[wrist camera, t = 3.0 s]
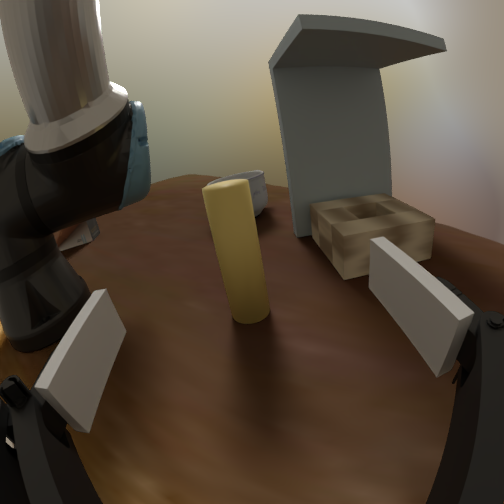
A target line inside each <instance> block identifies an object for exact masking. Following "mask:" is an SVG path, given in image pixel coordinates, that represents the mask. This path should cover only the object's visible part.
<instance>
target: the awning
mask: <svg viewBox="0 0 504 504" xmlns="http://www.w3.org/2000/svg"><path fill="white" fill-rule="evenodd" d="M445 51H447V50H446V46H445V42H444V39H443V38H440V37H437V36H434V35H431V34H427V33H423V32H420V31H416V30H413V29H409V28H405V27H401V26H397V25H392V24H387V23H382V22H377V21H371V20H364V19H356V18H348V17H340V16H327V15H303V14H302V15H300V14H299V15H298V16H297V17H296V19H295V20H294V22H293V24H292V25H291V26H290V28H289V30H288V31H287V33H286V34H285V36H284V37H283V39H282V41H281V42H280V44H279V46H278V47H277V49H276V50H275V52H274V54H273V55H272V57H271V59H270V60H269V62H268V63H269V69H270V74H271V79H272V85H273V90H274V95H275V101H276V107H277V113H278V119H279V125H280V131H281V138H282V144H283V150H284V157H285V164H286V171H287V179H288V187H289V194H290V202H291V210H292V219H293V227H294V233H295V235H296V237H297V238H298V237H303V236H309V235H312V227H311V216H310V206H309V204H312V203H319V202H325V201H332V200H339V199H346V198H353V197H360V196H367V195H375V194H382V193H385V194H387V195H389V196H391V197H392V180H391V158H390V145H389V133H388V123H387V114H386V106H385V100H384V93H383V87H382V81H381V75H380V70H379V69H380V68H383V67H387V66H390V65H393V64H397V63H400V62H403V61H407V60H411V59H415V58H419V57H423V56H427V55H431V54H435V53H440V52H445Z"/></svg>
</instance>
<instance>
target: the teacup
mask: <svg viewBox="0 0 504 504" xmlns="http://www.w3.org/2000/svg"><path fill="white" fill-rule="evenodd" d="M234 179H247V180H248V181H249V187H250V193H251V198H252V204H253V210H254V216H257V215H259V214H260V213H261V212H262V210H263V208H264V207H265V206H266V204H267V201H268V196H267V189H266V184H265V178H264V172H263V171H260V170H255V171H250V172H244V173H238V174H234V175H230V176H227V177H223V178H220V179H217V180H214V181H212V182H210V183H208V184H207V186H208V185H211V184H214V183H218V182H222V181H227V180H234Z"/></svg>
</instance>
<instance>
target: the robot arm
mask: <svg viewBox="0 0 504 504" xmlns="http://www.w3.org/2000/svg"><path fill="white" fill-rule="evenodd" d="M0 19H1V25H2V30H3V35H4V40H5V44H6V49H7V53H8V57H9V60H10V64H11V67H12V71H13V74H14V77H15V81H16V84H17V87H18V90H19V92H20V95H21V98H22V101H23V104H24V106H25V109H26V111H27V114H28V117H29V119H30V123H29V125H28V128H27V131H26V134H25V136H24V135H18V136H14V137H10V138H8V139H5V140H3V141H2V142H1V143H0V320H1V323H2V326H3V331H4V333H5V335H6V337H7V339H8V340H9V342H10V343H11V345H12V346H13V347H14V348H15V349H16V350H18V351H22V352H29V351H34V350H38V349H41V348H43V347H46V346H48V345H50V344H51V343H53V342H55V341H57V340H58V339H60V338H61V337H63V336H64V337H63V338H62V340H61V341H60V343H59V345H58V346H57V348H56V349H55V350H54V351H53V352H52V353H51V355H50V356H49V358H48V360H47V362H46V363H45V365H44V366H43V369H42V370H41V372H40V374H39V375H38V377H37V379H36V381H35V383H34V384H33V386H32V388H31V390H29V389H28V388H27V387H26V386H25V384H24V383H23V382H22V381H21V379H20V378H19V377H18V376H16V375H12V376H9V377H7V378H6V379H5V380H4V381H3V382H2V383H1V385H0V396H1V397H2V398H3V399H4V400H5V401H6V403H7V404H5V403H4V402H3V401H2V399H1V398H0V504H103V503H102V501H101V500H100V498H99V496H98V494H97V492H96V491H95V489H94V487H93V485H92V483H91V481H90V479H89V477H88V475H87V473H86V471H85V469H84V466H83V464H82V462H81V460H80V458H79V455H78V453H77V450H76V448H75V445H74V443H73V440H72V438H71V435H70V433H69V431H68V430H67V429H66V428H65V427H66V425H67V423H68V424H69V425H70V426H71V427H72V428H73V429H74V430H75V431H80V432H85V433H89V432H90V429H91V426H92V423H93V420H94V417H95V414H96V410H97V408H98V405H99V402H100V399H101V396H102V393H103V390H104V387H105V385H106V382H107V379H108V377H109V374H110V371H111V369H112V366H113V364H114V361H115V358H116V356H117V353H118V351H119V348H120V346H121V344H122V341H123V339H124V336H125V334H126V332H127V331H126V329H125V327H124V325H123V323H122V321H121V319H120V317H119V315H118V313H117V311H116V309H115V307H114V305H113V303H112V301H111V298H110V296H109V294H108V292H107V290H106V289H102V290H96V291H94V292H93V294H92V295H91V293H90V291H89V289H88V287H87V284H86V282H85V281H84V279H83V278H82V277H81V276H79V275H78V274H77V273H76V272H75V270H74V269H73V267H72V266H71V265H70V264H69V262H68V261H67V260H66V258H65V257H64V256H63V254H62V253H61V252H60V250H59V248H58V246H57V243H56V240H55V238H54V235H53V233H55V232H58V231H60V230H62V229H65V228H68V227H70V226H73V225H76V224H79V223H82V222H84V221H87V220H90V219H93V218H96V217H99V216H102V215H105V214H108V213H111V212H114V211H119V210H121V209H123V207H126V206H128V205H131V204H133V203H136V202H138V201H141V200H142V199H144V198H145V197H146V196H147V194H148V192H149V190H150V185H151V172H150V171H151V170H150V156H149V146H148V142H147V140H148V138H147V125H146V117H145V111H144V107H143V105H142V103H141V102H139V101H136V102H135V101H130V102H129V101H128V95H127V91H126V90H125V89H124V88H123V87H121V86H119V85H117V84H115V83H113V82H110V81H109V77H108V71H107V65H106V59H105V53H104V46H103V39H102V31H101V22H100V13H99V0H0ZM369 289H370V290H371V291H372V292H373V294H374V295H375V296H376V297H377V299H378V300H379V301H380V302H381V304H382V305H383V306H384V307H385V309H386V310H387V311H388V312H389V314H390V315H391V316H392V317H393V319H394V320H395V321H396V323H397V324H398V325H399V326H400V328H401V329H402V330H403V332H404V333H405V334H406V336H407V337H408V338H409V340H410V341H411V342H412V344H413V345H414V346H415V348H416V349H417V350H418V352H419V353H420V355H421V356H422V357H423V359H424V360H425V362H426V363H427V364H428V366H429V367H430V369H431V370H432V371H433V373H434V374H435V376H436V377H439V376H441V375H443V374H445V373H447V372H448V371H450V370H452V368H453V365H454V363H455V361H456V359H457V360H458V361H459V363H460V364H461V365H460V367H459V369H458V371H457V373H456V375H455V377H454V379H453V382H452V384H454V383H455V381H456V380H457V387H456V395H455V401H454V407H453V413H452V418H451V423H450V428H449V433H448V437H447V441H446V445H445V449H444V453H443V456H442V460H441V463H440V466H439V469H438V472H437V475H436V478H435V481H434V484H433V487H432V489H431V492H430V495H429V497H428V500H427V502H426V504H503V501H504V316H503V315H502V314H500V313H498V312H495V311H487V312H485V313H484V312H483V311H482V310H481V309H480V308H479V307H477V306H476V305H475V304H474V303H473V302H472V301H471V300H470V299H469V298H467V297H466V296H465V295H464V294H462V292H461V291H460V290H458V289H456V287H455V286H454V285H453V284H451V283H450V282H449V281H447V280H445V279H443V278H441V277H434V276H433V275H431V274H430V273H429V272H428V271H427V270H425V269H424V268H423V267H422V266H421V265H419V264H418V263H417V262H416V261H414V260H413V259H412V258H411V257H409V256H408V255H407V254H406V253H404V252H403V251H402V250H400V249H399V248H398V247H397V246H395V245H394V244H393V243H391V242H390V241H389V240H387V239H386V238H385V237H378V238H373V239H370V267H369ZM6 437H7V438H8V439H9V440H10V441H12V442H13V443H14V448H12V447H11V446H9V445H8V444H7V443H6Z"/></svg>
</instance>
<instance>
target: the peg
mask: <svg viewBox="0 0 504 504" xmlns="http://www.w3.org/2000/svg"><path fill="white" fill-rule="evenodd" d="M202 192H203V197H204V202H205V206H206V211H207V215H208V219H209V224H210V228H211V232H212V237H213V241H214V245H215V249H216V253H217V258H218V262H219V266H220V270H221V274H222V278H223V282H224V286H225V290H226V294H227V298H228V301H229V305H230V309H231V313H232V317H233V319H234V320H235V321H237V322H239V323H242V324H253V323H257V322H259V321H261V320H263V319H265V318H266V317H267V316H268V314H269V312H270V306H269V300H268V294H267V288H266V282H265V276H264V270H263V264H262V258H261V252H260V246H259V240H258V234H257V228H256V222H255V216H254V210H253V204H252V198H251V193H250V187H249V181H248V180H247V179H234V180H227V181H222V182H218V183H214V184H211V185H208V186H206V187H204V188H203V189H202Z"/></svg>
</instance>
